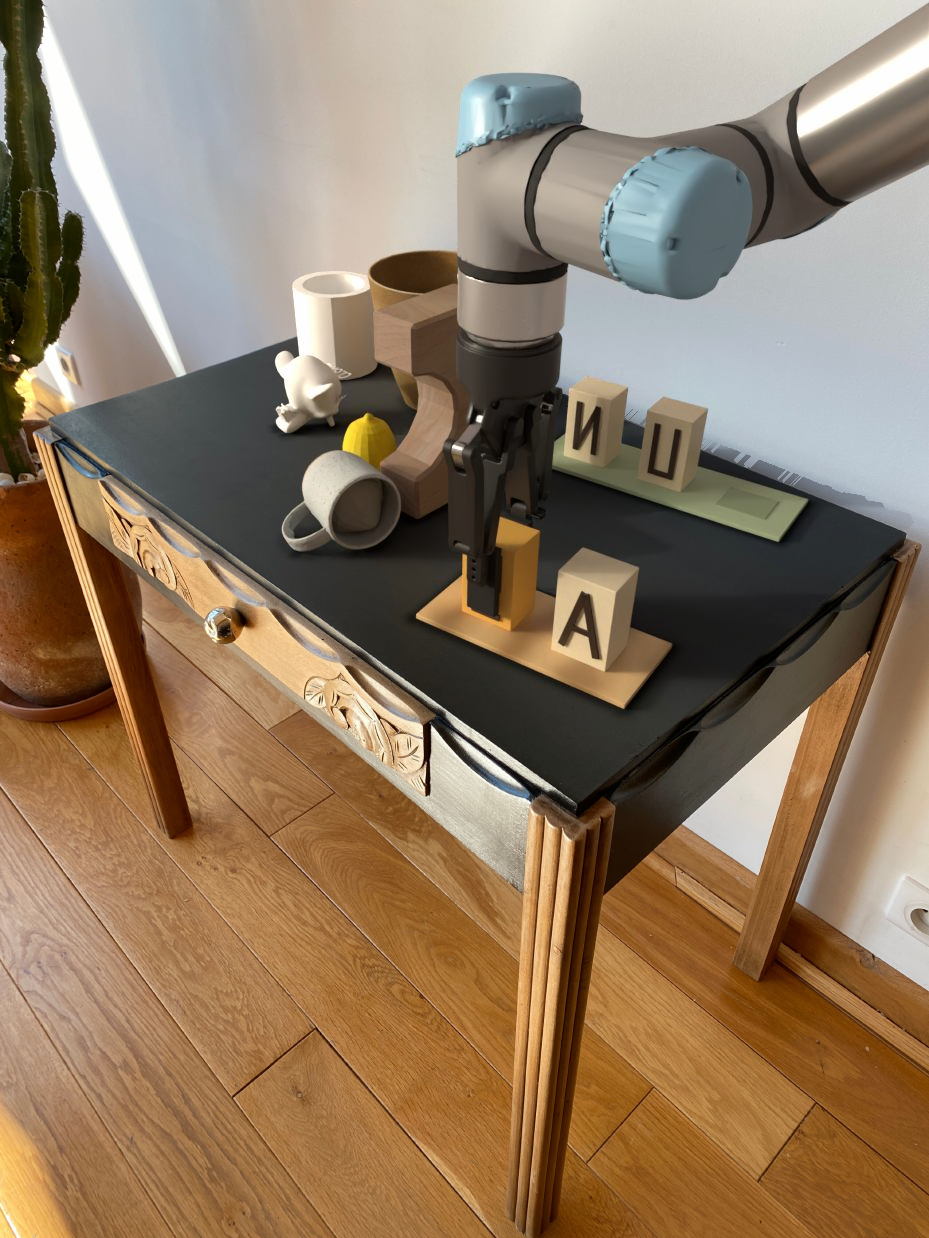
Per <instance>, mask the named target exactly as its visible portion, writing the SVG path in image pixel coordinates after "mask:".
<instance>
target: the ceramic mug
mask: <svg viewBox="0 0 929 1238" xmlns="http://www.w3.org/2000/svg"><path fill="white" fill-rule="evenodd" d="M301 491H302V497H303V501H302V502H301V503H300V504H298V505H297V506H296V507H294V508H293V509H292V510H291V511H290V512H289V513H288V514H287V515H286V517H285V518H284V519H283V520H284V521H283V522H282V526H281V533H282V536H283V537H284V539H285V541H286V543H287V544H288V545H289V546H290V547H291V549H293V550H294V551H297V552H312V551H314V550H317V549H319V548H321V547H322V546H324V545H326V544H328V543H329V542H331V541H334V542H335V543H336V544H338V545H339V546H341V547H343V548H345V549H348V550H355V551H357V550H366V549H369V548H372V547H375V546H377V545H379V544H380V543H381V542H383V541H384V540H386V538H387V537H388V536H389V535H390V534H391V533H392V532H393V531H394V529H395V528H396V526H397V524H398V521H399V519H400V516H401V512H402V511H401V497H400V494H399V491H398V489H397V487H396V485H395V484H394V483H393V481H392V480H390V479H389V478H388V477H386V476H385V475H384V474H382V473H381V472H380V471H378V470H377V469H376V468H374V467H373V466H372V465H370V464H369V463H368V462H366V461H365V460H364V459H362V458H361V457H360V456H358V455H356V454H353V453H350V452H347V451H343V449H339V450H338V449H337V450H330V451H327V452H324V453H322V454H320V455H318V456H317V457H316V458H315V459H314V460H313V461H311V463H310V464H309V465H308V467H307V468H306V470H305V472H304V475H303V477H302V482H301ZM311 514H312V515H313V517H314V518H315V519H316V520H317V521H318V522H319V523H320V525H321V527H322V528H320V530H317V531H316V532H314V533H312V534H310V535H307V536H304V537H301V538H295V532H294V530H295V529H296V527H297V526H298V525H299V524H300V523H301V522H302V521H303V520H304V519H306V517H308V516H309V515H311Z"/></svg>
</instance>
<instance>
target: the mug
mask: <svg viewBox="0 0 929 1238" xmlns="http://www.w3.org/2000/svg"><path fill="white" fill-rule="evenodd" d="M291 285H292V294H293V295H292V296H293V305H294V314H295V315H294V316H295V324H296V325H295V326H296V334H297V335H296V336H297V345H298V354H299V355H298V356H302V355H311V356H314V357H316V358H318V359H320V360H321V361H322V362H324V363H325V364H326V363H330V364H331V365H332V366H331V365H329V366H331V367H334V366H336V367H334V368H337V369H343V370H342V371H341V372H339V371H340V370H336V369H334V368H332V369H333V370H335V371H334V372H335V373H336V375H339V376H340V377H345V376H348V375H349V374H347V373H351V375H350V376H348V377H345V378H338V379H339V381H347V380H348V381H349V380H353V379H357V378H358V379H359V378H361V377H364V376H366V375H369V374H371V373H372V372H374V371H375V370H376V369H377V366H378V362H377V361H376V360H375V348H374V324H373V313H374V312H375V310H374V305H373V300H372V296H371V290H370V285H369V280H368V275H367V274H363V273H360V272H354V271H348V270H323V271H318V272H311V273H308V274H303V275H301V276H300V277H298V278H296V279H295V280H294V281H293V282H292V284H291ZM327 365H328V364H327ZM343 371H346V372H347V373H345V374H342V373H344V372H343ZM337 372H339V373H337ZM340 374H342V375H340ZM339 376H337V377H339Z"/></svg>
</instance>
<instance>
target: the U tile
mask: <svg viewBox="0 0 929 1238" xmlns="http://www.w3.org/2000/svg"><path fill="white" fill-rule="evenodd" d="M708 413H709V408H708V407H705V406H700V405H696V404H692V403H689V402H686V401H681V400H678V399H675V398H671V397H667V396H663V397H661V398H660V399H659V400H657V401H656V402H655V403H654V404H653V405H652V406H650V407H649V408H648V409H647V410H646V416H645V424H644V429H643V430H644V431H643V436H642V437H643V438H642V445H641V449H642V450H641V457H640V464H639V471H638V478H637V479H639V480H642V481H646V482H649V483H652V484H655V485H658V486H661V487H665V488H668V489H671V490H674V491H677V492H681V491H682V490H683V489H684V488H685V487H686V486H687V485H688V484H689V483H690V482H691V481H692V480H693V479H694V478H695V476H696V471H697V466H698V465H699V461H700V460H699V459H700V455H701V450H702V445H703V439H704V434H705V429H706V423H707V419H708Z"/></svg>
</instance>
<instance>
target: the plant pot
mask: <svg viewBox="0 0 929 1238" xmlns="http://www.w3.org/2000/svg"><path fill="white" fill-rule="evenodd" d="M457 274H458V264H457V251H455V250H446V249H444V250H443V249H420V250H418V249H417V250H410V251H403V252H398V253H394V254H389V255H387V256H384V257H382V258H380V259H378V260H376V261H374V262H373V263H372V264H371V265H370V266H369V267H368V269H367V274H366V275H367V276H368V280H369V285H370V290H371V296H372V300H373V305H374V310H375V311H376V310H378V309H381V308H384V307H387V306H390V305H393V304H396V303H399V302H402V301H405V300H407V299H410V298H413V297H416V296H419V295H422V294H425V293H428V292H431V291H433V290H436V289H439V288H442V287H445V286H448V285H451V284H457V285H458V280H457ZM390 368H391V367H390ZM391 372H392V374H393V377H394V379H395V381H396V384H397V386H398V389H399V391H400V393H401V395H402V398H403V400H404V402H405V404H406V405H407V406H408V407H409V408H411V409H413V410H415V411H417V408H418V399H419V393H418V387H417V380H416V379H415V378H414V377H413V376H411V375H408V374H406V373H403V372H401V371H398V370H396V369H393V368H391Z"/></svg>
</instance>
